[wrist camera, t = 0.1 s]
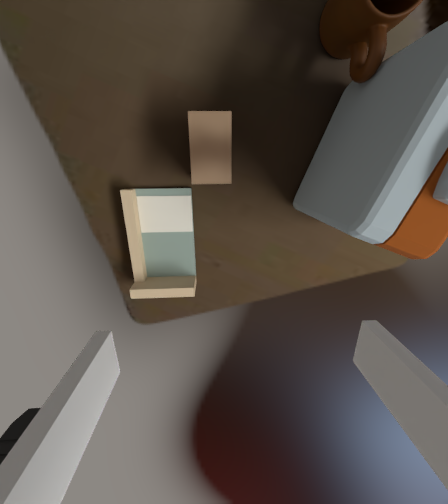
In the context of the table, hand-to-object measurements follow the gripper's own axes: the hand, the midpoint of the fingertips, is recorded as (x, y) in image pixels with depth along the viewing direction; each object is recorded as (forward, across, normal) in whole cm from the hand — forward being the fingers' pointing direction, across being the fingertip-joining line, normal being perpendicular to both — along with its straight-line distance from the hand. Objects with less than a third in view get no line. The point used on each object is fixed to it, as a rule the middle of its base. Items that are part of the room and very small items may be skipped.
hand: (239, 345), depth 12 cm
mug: (+28, +17, +24) cm, 41 cm away
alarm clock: (+28, +19, +10) cm, 35 cm away
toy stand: (+28, -10, -2) cm, 29 cm away
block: (+28, -1, +11) cm, 30 cm away
